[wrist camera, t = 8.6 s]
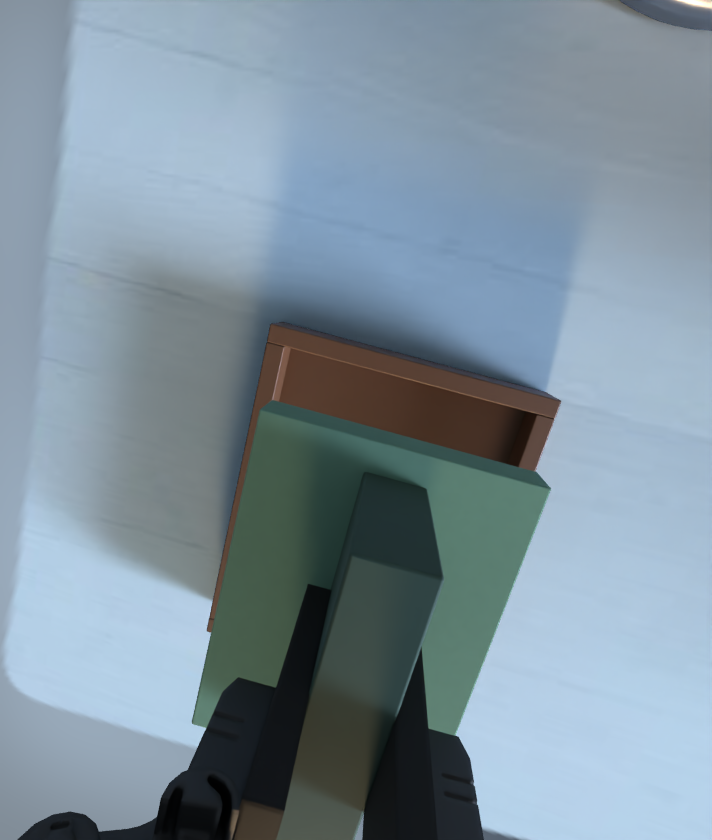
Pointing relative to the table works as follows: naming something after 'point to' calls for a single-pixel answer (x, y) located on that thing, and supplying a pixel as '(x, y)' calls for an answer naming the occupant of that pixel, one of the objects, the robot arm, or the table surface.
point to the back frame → (396, 402)
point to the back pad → (312, 533)
